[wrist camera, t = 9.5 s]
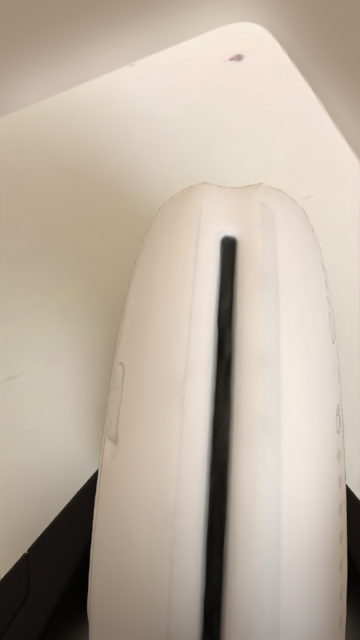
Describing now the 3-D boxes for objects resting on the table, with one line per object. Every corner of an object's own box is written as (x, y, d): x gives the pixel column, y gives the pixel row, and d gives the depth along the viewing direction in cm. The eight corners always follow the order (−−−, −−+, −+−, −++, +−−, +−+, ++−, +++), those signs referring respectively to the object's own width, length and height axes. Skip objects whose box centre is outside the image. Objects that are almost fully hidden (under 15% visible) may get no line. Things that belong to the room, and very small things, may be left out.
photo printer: (263, 555, 14) (477, 1201, 3) (164, 541, 15) (-46, 1022, 3) (266, 321, 17) (375, 108, 5) (182, 317, 18) (109, 115, 6)
